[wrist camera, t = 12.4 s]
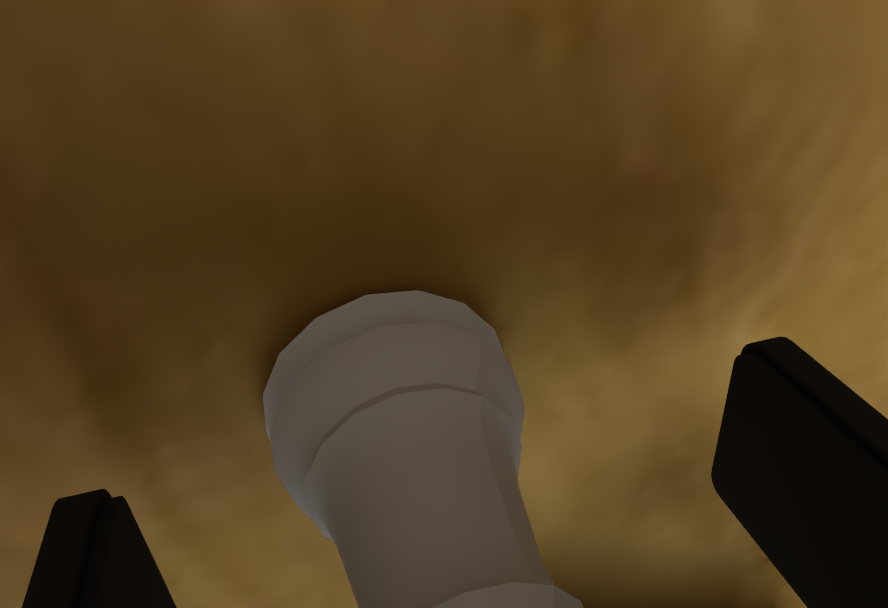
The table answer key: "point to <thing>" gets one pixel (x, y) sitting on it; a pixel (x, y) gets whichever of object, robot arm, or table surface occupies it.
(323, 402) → the rook chess piece
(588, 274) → the table surface
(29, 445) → the table surface
